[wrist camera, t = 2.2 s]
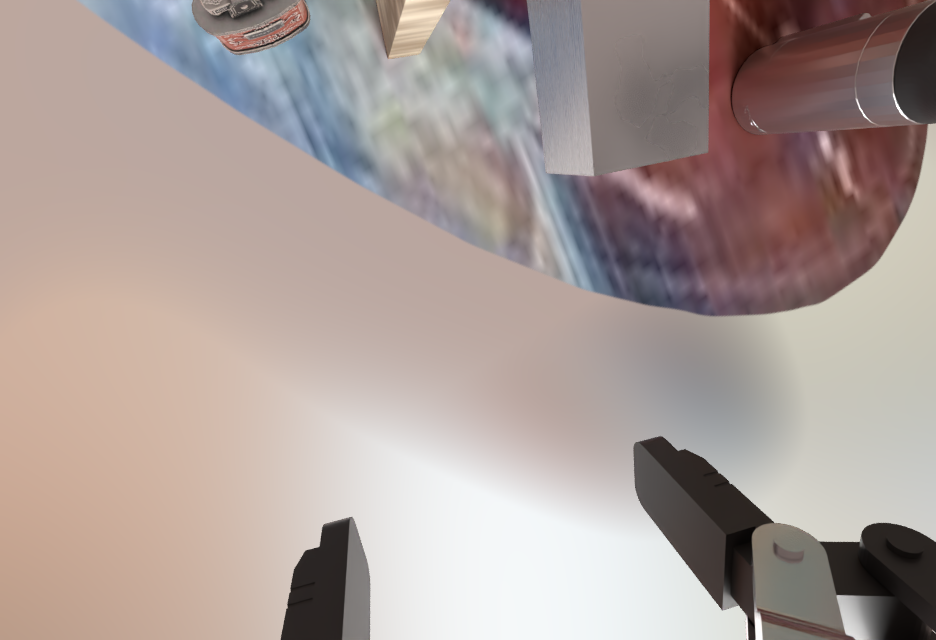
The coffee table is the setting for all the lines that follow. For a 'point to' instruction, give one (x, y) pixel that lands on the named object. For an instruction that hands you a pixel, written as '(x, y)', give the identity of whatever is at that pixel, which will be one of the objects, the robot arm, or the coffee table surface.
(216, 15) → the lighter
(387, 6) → the bridge
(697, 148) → the block
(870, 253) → the coffee table surface
